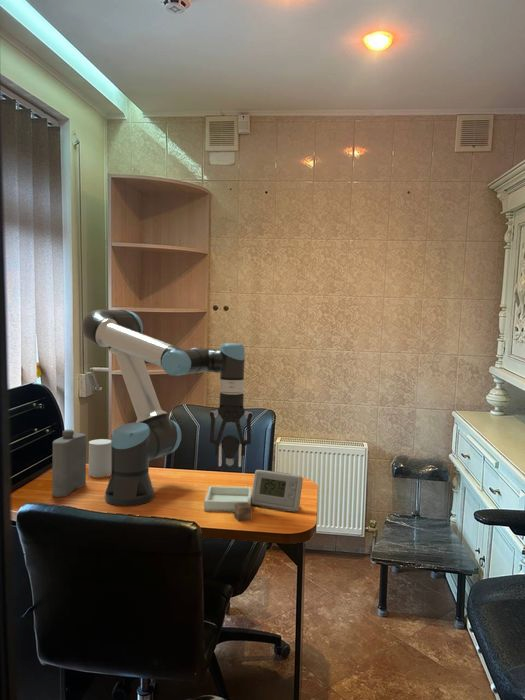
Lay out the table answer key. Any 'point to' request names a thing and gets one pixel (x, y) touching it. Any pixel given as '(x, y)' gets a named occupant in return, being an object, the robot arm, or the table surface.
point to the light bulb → (230, 448)
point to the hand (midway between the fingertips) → (229, 465)
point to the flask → (68, 463)
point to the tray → (226, 498)
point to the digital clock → (276, 490)
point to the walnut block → (243, 512)
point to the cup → (99, 457)
